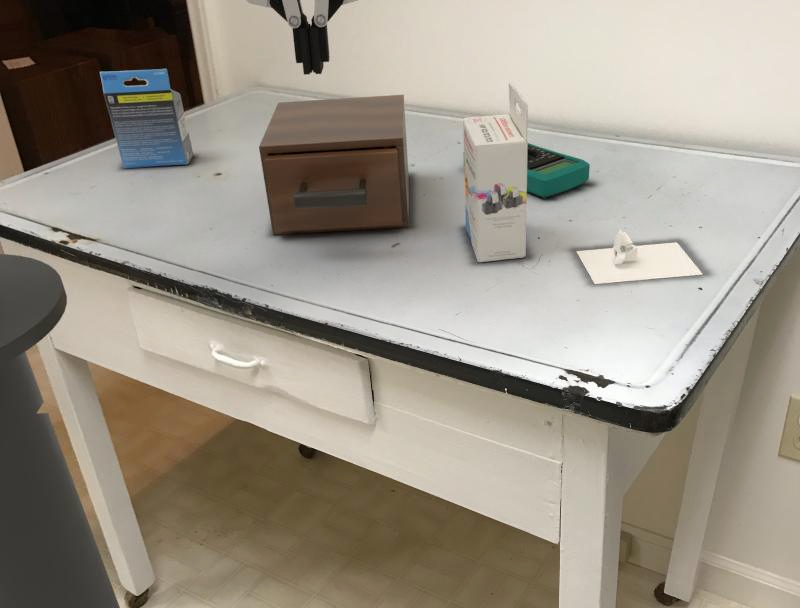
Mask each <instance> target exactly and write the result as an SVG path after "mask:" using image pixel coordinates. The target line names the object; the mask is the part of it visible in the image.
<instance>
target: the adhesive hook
mask: <svg viewBox="0 0 800 608" xmlns="http://www.w3.org/2000/svg"><path fill="white" fill-rule="evenodd" d="M633 243H634V242H633V240H632V239H631V237H630V236H629V235H628V233H627V232H626V231H624V232H623V231H622V228H619V229H618V232H617V233H616V235H615V236H614V240H613V246H612V247H611V248H612V249H613V255H614V257H613V264H614V265H622V264H623V263H625V262H637V261H638V247H637V246H638V245H635V244H633Z"/></svg>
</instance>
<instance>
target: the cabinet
mask: <svg viewBox="0 0 800 608" xmlns="http://www.w3.org/2000/svg"><path fill="white" fill-rule="evenodd" d="M273 111H274V112H273V114H272V116H271V118H270V120H269V123H268V124H267V127H266V130H265V131H264V134H263V137H262V138H261V141H260V143H259V146H258V149H259V154H260V155H259V156H260V162H261V169H262V174H263V182H264V188H265V193H266V200H267V206H268V212H269V218H270V225H271V231H272V235H273V236H274V235H292V234H293V235H294V234H309V233H324V232H325V233H329V232H345V231H361V230H363V231H365V230H381V229H398V228H399V229H400V228H409V226H410V225H409V224H410V223H409V217H410V213H409V209H410V208H409V207H410V204H409V203H410V201H409V198H410V197H409V195H410V194H409V193H410V192H409V191H410V189H409V188H410V187H409V186H410V185H409V182H410V178H409V176H410V175H409V161H408V160H409V159H408V158H409V157H408V143H407V140H408V139H407V125H406V124H407V123H406V107H405V94H393V95H392V94H391V95H377V96H362V97H343V98H330V99H329V98H328V99H312V100H297V101H282V102H279V101H278V102H277V104H276V107H275V109H274V110H273ZM387 146H395V148H398V161H399V176H400V191H401V206H402V225H392V226H374V227H357V228H339V229H321V230H304V231H286V232H275V225H274V219H273V213H272V206H271V200H270V194H269V187H268V181H267V175H266V168H265V162H264V159H265V157H266V156H275V153H288V152H305V151H321V150H338V149H354V148H371V147H387Z"/></svg>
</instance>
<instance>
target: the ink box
mask: <svg viewBox="0 0 800 608" xmlns="http://www.w3.org/2000/svg"><path fill="white" fill-rule="evenodd" d="M508 101H509V102H508V103H509V113H505V114H493V115H483V116H468V117H463V118H462V129H463V131H462V132H463V134H462V135H463V167H464V205H465V207H464V209H465V212H464V213H465V229H466V231H467V234H468V238H469V241H470V243H471V246H472V249H473V252H474V255H475V258H476V261H477V263H485V262H494V261H495V262H496V261H503V260H504V261H505V260H513V259H521V258H525V257H526V255H527V198H528V197H527V196H528V194H527V193H528V192H527V146H528V143H529V142H528V126H529V125H528V124H529V123H528V120H529V106H528V103H527V102H526V100H525V98H524V97H523V96H522V94H521V93H520V92H519V90H518V89H517V88H516V87H515V86H514V84H513V83H512V82H511V81H509V82H508ZM517 105H518V108H519V109H520V111H519V110H518V109H517Z"/></svg>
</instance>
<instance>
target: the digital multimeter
mask: <svg viewBox="0 0 800 608" xmlns="http://www.w3.org/2000/svg"><path fill="white" fill-rule="evenodd" d="M590 166H591V164H590V163H589V162H588V161H586V160H584V159H582V158H579V157H576V156H571V155H568V154H564V153H561V152H558V151H554V150H551V149H548V148H545V147H542V146H538V145H535V144H532V143H530V142H528V146H527V193H531V194H532V195H536V196H538V197H541V198H543V199H545V198H549V197H552V196H556V195H558V194H559V195H560V194H561V193H564V192H567V191H569V190H571V189H574V188H577V187H579V186H581V185H584V184H585V183H586V182H588V181H589V180H590Z"/></svg>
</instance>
